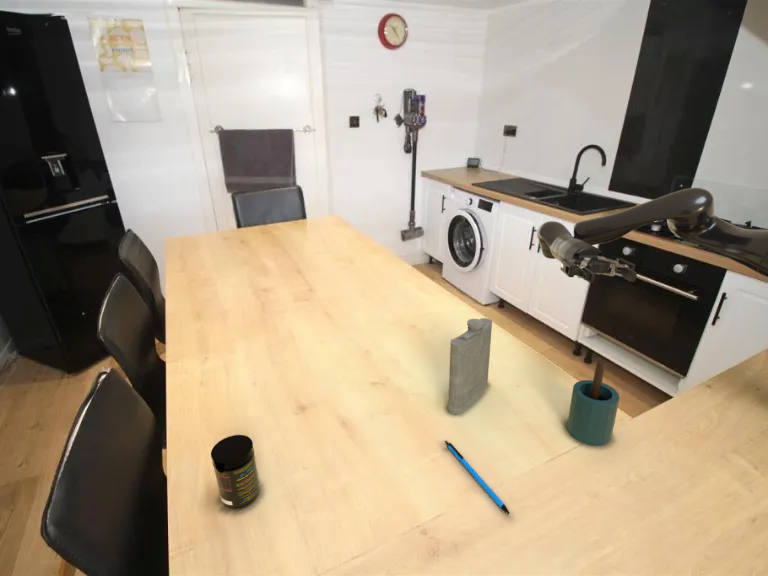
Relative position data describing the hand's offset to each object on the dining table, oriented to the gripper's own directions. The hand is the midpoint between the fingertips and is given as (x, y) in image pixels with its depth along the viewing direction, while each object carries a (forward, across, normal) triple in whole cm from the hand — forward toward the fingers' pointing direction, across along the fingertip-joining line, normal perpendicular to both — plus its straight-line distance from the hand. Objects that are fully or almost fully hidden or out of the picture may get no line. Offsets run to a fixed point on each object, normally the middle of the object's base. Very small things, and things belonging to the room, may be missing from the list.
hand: (613, 278), depth 85 cm
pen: (+22, -32, +30) cm, 49 cm away
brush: (+11, -6, +29) cm, 32 cm away
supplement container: (+25, -74, +30) cm, 84 cm away
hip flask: (-2, -28, +30) cm, 41 cm away
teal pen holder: (+11, -6, +30) cm, 33 cm away
